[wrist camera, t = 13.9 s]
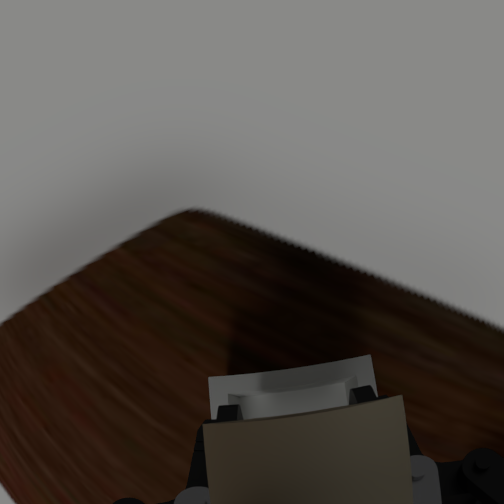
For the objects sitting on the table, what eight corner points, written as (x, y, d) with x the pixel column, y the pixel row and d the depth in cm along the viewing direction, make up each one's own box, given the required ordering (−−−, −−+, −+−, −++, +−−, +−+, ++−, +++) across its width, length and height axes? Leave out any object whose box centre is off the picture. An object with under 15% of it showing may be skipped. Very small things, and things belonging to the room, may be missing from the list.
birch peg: (333, 407, 14) (402, 395, 5) (341, 478, 12) (413, 554, 3) (254, 418, 14) (202, 424, 5) (261, 489, 12) (222, 583, 3)
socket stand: (353, 367, 20) (370, 354, 16) (368, 484, 16) (389, 501, 11) (225, 385, 21) (208, 377, 16) (237, 502, 16) (223, 525, 12)
